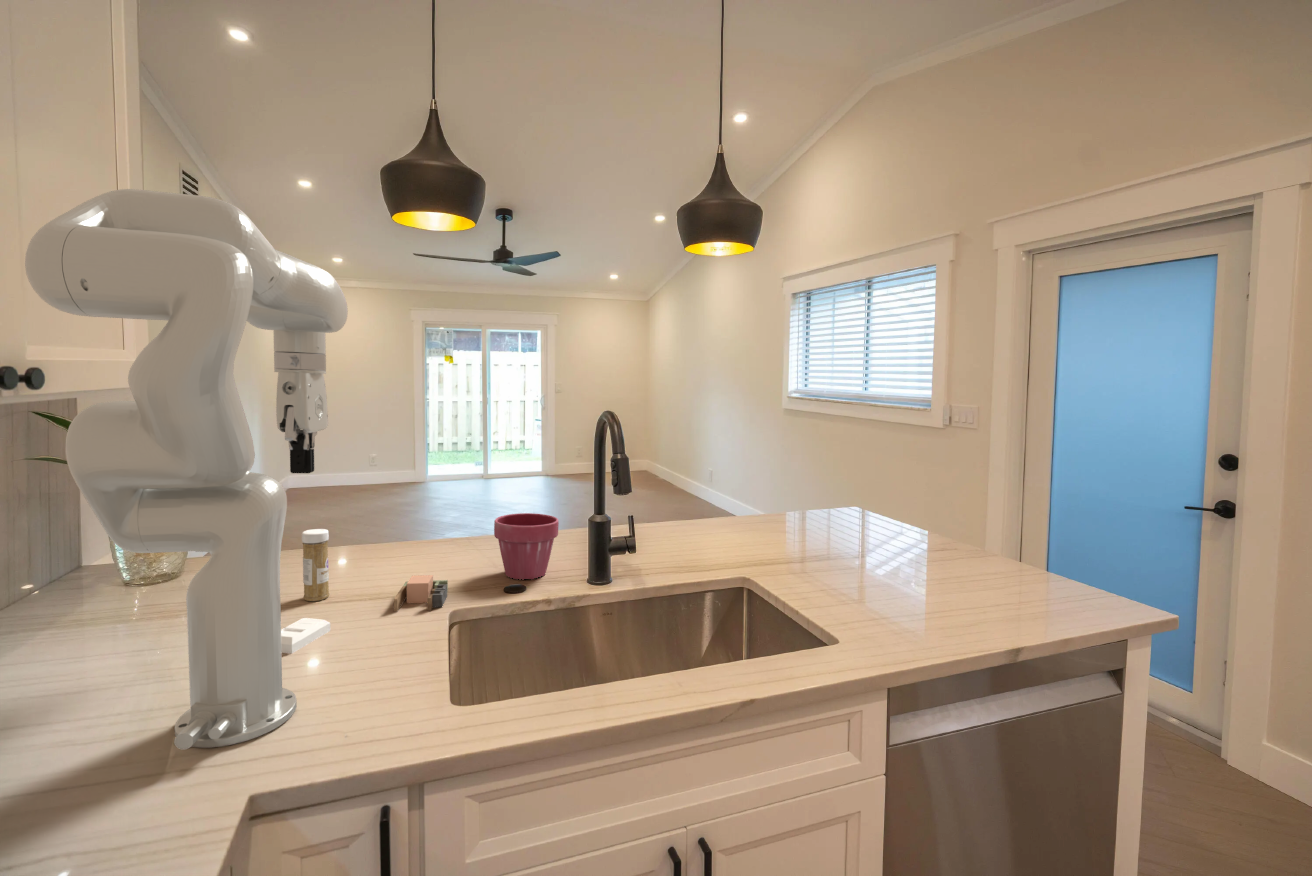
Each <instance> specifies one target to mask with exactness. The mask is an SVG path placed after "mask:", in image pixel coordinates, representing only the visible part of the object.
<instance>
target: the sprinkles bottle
mask: <svg viewBox="0 0 1312 876" xmlns="http://www.w3.org/2000/svg"><path fill="white" fill-rule="evenodd" d="M329 539H330V536H329V530H328V529H325V528H314V529H307V530H304V531H302V532H301V542H302V550H303V551H302V555H303V557H302V576H303V580H302V582H303V600H304V601H307V602H319V601H321V600H325V599H327V598H329V597H330V591H329V590H330V589H329V587H330V586H329V580H330V579H329V577H330V575H329V570H330V569H329V546H328V545H329V544H328V543H329Z"/></svg>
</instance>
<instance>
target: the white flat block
mask: <svg viewBox="0 0 1312 876" xmlns="http://www.w3.org/2000/svg"><path fill="white" fill-rule="evenodd" d="M329 632H331V622H330V621H327V620H326V619H320V618H311V617H310V618H309V617H302V618H300V619H299V620H296V621H294V622H293V623H291V624H288V625H287V626H285V627H283V628H281V654H290V655H293V654H294V653H295V652H297V651H299V650H301V649H302V648H304V647H306V646H307V645H309V644H311V643H313V642H314V641H316V640H317V639H319V638H321V637H322V636H324V635H326V634H327V633H329Z"/></svg>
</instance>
